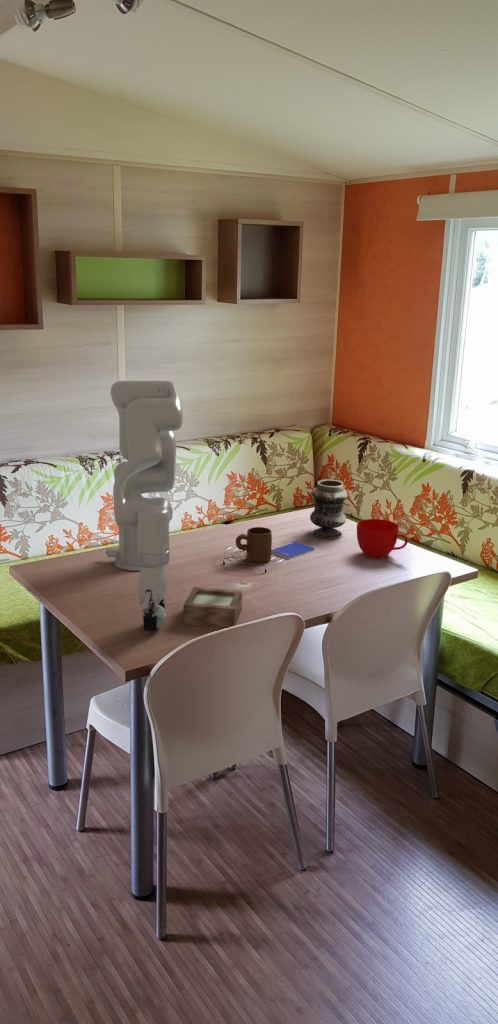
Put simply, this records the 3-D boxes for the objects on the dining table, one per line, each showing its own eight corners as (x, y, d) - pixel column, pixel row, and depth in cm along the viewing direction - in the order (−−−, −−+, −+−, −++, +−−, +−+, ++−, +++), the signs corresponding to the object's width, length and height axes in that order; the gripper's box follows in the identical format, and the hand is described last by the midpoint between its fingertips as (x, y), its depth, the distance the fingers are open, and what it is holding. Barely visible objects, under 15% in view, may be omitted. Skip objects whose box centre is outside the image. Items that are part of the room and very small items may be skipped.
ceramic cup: (395, 568, 254) (398, 537, 251) (347, 556, 263) (349, 525, 260) (415, 557, 264) (417, 527, 261) (367, 545, 273) (369, 516, 270)
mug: (241, 568, 251) (242, 538, 249) (229, 560, 258) (229, 530, 255) (275, 561, 257) (276, 532, 255) (262, 554, 264) (263, 525, 261)
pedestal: (183, 623, 212) (183, 604, 211) (193, 605, 224) (193, 587, 222) (234, 628, 211) (234, 609, 209) (241, 609, 222) (242, 590, 221)
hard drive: (288, 556, 259) (314, 547, 268) (269, 549, 264) (295, 541, 273) (288, 561, 259) (314, 552, 268) (269, 554, 265) (294, 545, 273)
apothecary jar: (334, 542, 276) (337, 489, 271) (302, 535, 282) (305, 483, 277) (351, 532, 286) (354, 481, 280) (320, 526, 292) (322, 476, 287)
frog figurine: (138, 633, 207) (137, 606, 205) (147, 621, 213) (146, 595, 211) (161, 635, 206) (161, 609, 204) (170, 624, 212) (170, 598, 210)
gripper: (147, 544, 213) (148, 609, 218) (128, 568, 196) (129, 637, 201) (176, 546, 212) (177, 611, 217) (159, 570, 195) (160, 640, 200)
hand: (154, 623), depth 209 cm, fingers closed on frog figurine, 7 cm apart
